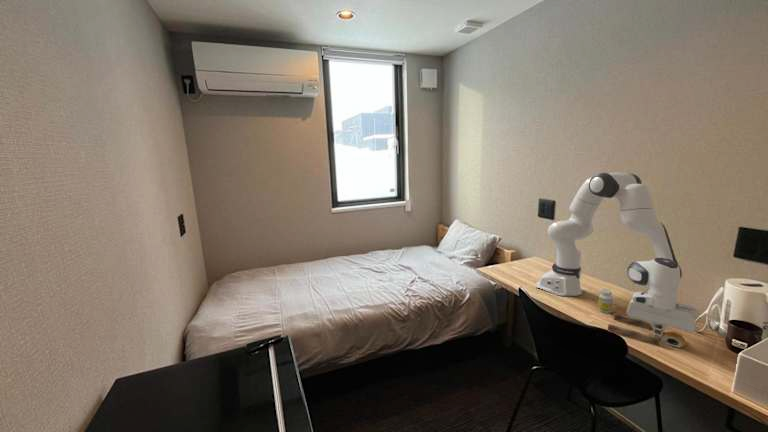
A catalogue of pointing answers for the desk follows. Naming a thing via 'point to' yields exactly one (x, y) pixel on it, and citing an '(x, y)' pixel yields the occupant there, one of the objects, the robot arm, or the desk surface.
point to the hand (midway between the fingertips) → (657, 333)
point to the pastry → (673, 339)
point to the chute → (635, 334)
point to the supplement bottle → (605, 301)
